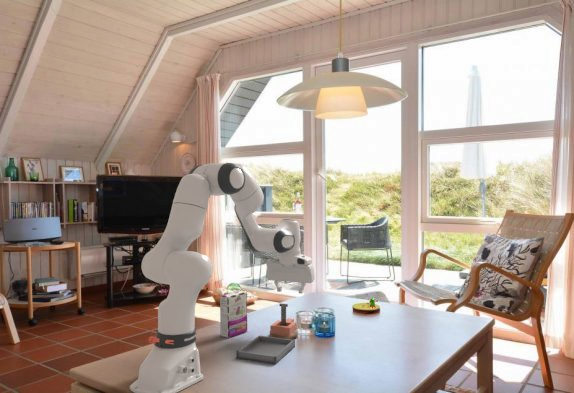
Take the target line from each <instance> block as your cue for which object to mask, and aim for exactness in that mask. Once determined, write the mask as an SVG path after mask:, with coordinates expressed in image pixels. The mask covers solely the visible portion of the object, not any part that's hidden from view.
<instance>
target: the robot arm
mask: <svg viewBox="0 0 574 393" xmlns="http://www.w3.org/2000/svg"><path fill="white" fill-rule="evenodd" d="M175 191H176V192H175V193H174V198H173V200H172V205H171V210H170V213H169V218H168V222H167V224H166V227H165V229H164V232H163V233H162V235H161V237H160V239H159V240H158V242H157V244H155V245H154V247H153V248H152V249H150V250H149V251H148V252H146V253H145V255H144V256H143V258H142V260H141V266H140V267H141V271H142V274H143V276H144V277H145V278H146V279H149V280H150V281H153V282H155V283H156V284H163V285H169V292H168V295H167V297H166V298H165V299H163V300H162V301H160V303H159V305H158V307H157V331H156V334H155V336H153V335H151V336H149V338H148V343H149V344H153V347H152V349H151V350H150V351H149V353H148V355H147V356H145V359H144V360H143V362H142V363H141V364H140V366H139V370H138V378H137V379H136V380H135V381H133V383H131V384H130V385H129V390H130V391H131V392H132V393H179V392H180V391H182V390H185V389H186V388H189V387H191V386H193V385H195V384H196V383H198V382H200V381H202V380H204V377H205V376H204V374H203V373H202V372H201V363H200V361H201V360H200V352H199V349H198V347H197V344H196V341H197V329H196V326H195V324H196V323H195V322H196V321H195V318H196V316H195V315H196V304H197V300H198V297H199V294H200V292H201V291H202V289H203V288H204V287H205V286H206V285H207V284H208V283H209V282H210V280H211V278H212V276H213V271H214V267H213V262H212V260H211V258H210V257H209V256H208V255H204V253H203V254H202V253H200V252H197V251H191V250H188V249H189V247H190V246H191V245H192V243H193V242H194V241H195V240H197V239H199V238H200V236H201V235H202V234H203V231H204V227H205V226H204V225H205V221H206V218H207V217H206V216H207V213H208V212H207V211H208V206H209V201H210V200H209V199H210V197H211V196H215V197H216V196H217V197H218V196H219V197H220V196H226V195H228V196H229V197H230V199H231V200H232V202H233V203H234V206H233V207H234V212H235V216H236V217H237V219H238V221H239V224H240V226H241V227H242V228H241V229H242V231H243V232H244V234H245V237H246V241H247V242H246V243H247V245H248V247H249V248H250V249H251V251H252V252H255V253H271V254H279V256H278V257H269V258H267V260H266V273H265V274H266V276H265V277H266V280H268V281H274V282H273V283H274V285H275V287H276V291H277V292H278V293H279V292H282V291H283V288H282V286H280V282H289V283H290V282H291V283H300V285H301V287H300V288H298V294H303V293H304V289H305V287H306V285H307V284H311V283H314V281H315V269H314V266H313V264H312V263H313V258H312V257H310V256H307V255H305V254H302V253H301V250H302V249H301V247H300V246H301V244H300V243H301V240H302V239H301V227H300V223H299V221H298V220H296V219H288V218H283V219H281V220H280V223H279V224H278V225H277V226H275V227H274V228H270V227H269V228H267V227H263V226H260V225H259V224H258V223H257V220H256V218H255V216H254V213H256V212H257V211H258V210H259V209H260V208H261V206H262V205H263V202H264V199H265V197H264V192H263V190H262V188H261V186H260V185H259V183H258V181H257V179H256V178H255V177H254V176H253V174H252V173H251V171H250V170H249V169H247V167H246V166H245V165H244V164H241V163H232V162H225V163H222V162H218V163H217V162H212V163H206V164H199V165H197V166H194V167H192V168H191V169H190V171H188V173H187V174H185V175H184V176H182V178H181V180H180V181H179V184H178V186H177V188H176V190H175Z"/></svg>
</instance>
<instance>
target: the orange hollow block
mask: <svg viewBox="0 0 574 393" xmlns="http://www.w3.org/2000/svg"><path fill="white" fill-rule="evenodd" d="M297 326H298V325H297V322H295V319H294V318H286V326H281V320H276V321H275V322H274V323H272V324H271V325H269V328H270V330H269V334H270V333H271V334H280V335H288V336H290V335H291V334H292V333H293V332H295V331H296V330H297ZM297 331H298V330H297Z"/></svg>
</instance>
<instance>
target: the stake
mask: <svg viewBox="0 0 574 393" xmlns="http://www.w3.org/2000/svg"><path fill="white" fill-rule="evenodd" d="M279 307H280V321H281V326H286V320H287V308H288V303H279ZM269 337H274V338H282V339H290V340H297V339H298V330H296V331H295V332H293V333H292V334H291V335H290V336H288V335H280V334H271V333H270V332H269Z"/></svg>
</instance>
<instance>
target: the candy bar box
mask: <svg viewBox="0 0 574 393" xmlns="http://www.w3.org/2000/svg"><path fill="white" fill-rule="evenodd" d="M247 292H248V291H243V290H238V291H232V292H229V293H225V294H221V295H219V307H220V308H219V314H220V315H219V317H220V318H219V320H220V322H219V324H220V325H219V326H220V327H219V328H220V330H219V331H220V337H223V338H226V339H230V338H233V337H236V336H239V335H242V334H244V333H247V332H248V293H247Z"/></svg>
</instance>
